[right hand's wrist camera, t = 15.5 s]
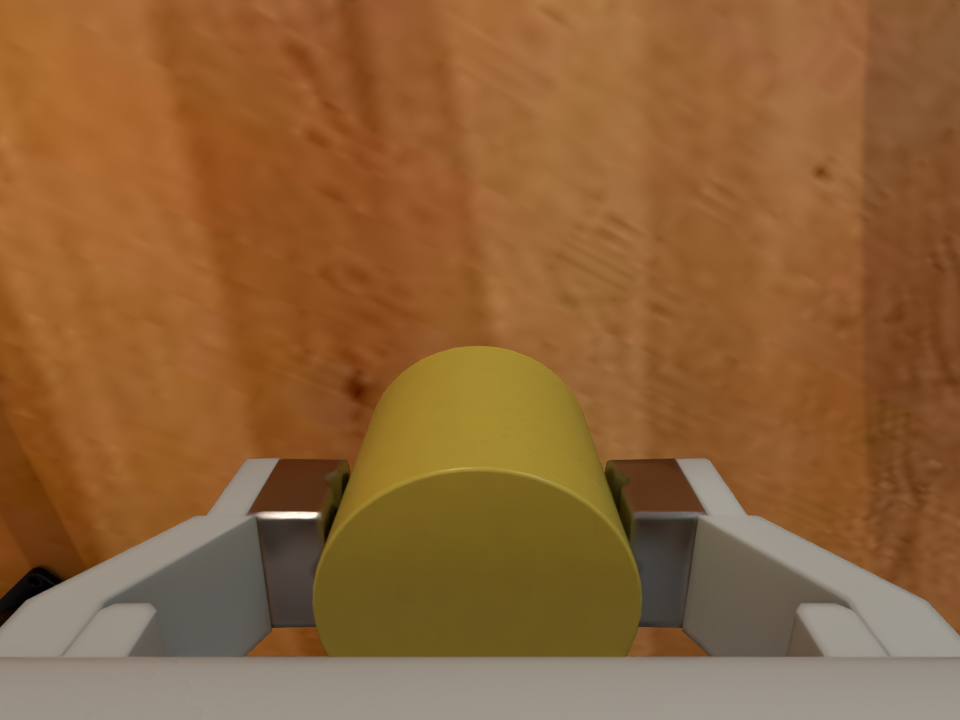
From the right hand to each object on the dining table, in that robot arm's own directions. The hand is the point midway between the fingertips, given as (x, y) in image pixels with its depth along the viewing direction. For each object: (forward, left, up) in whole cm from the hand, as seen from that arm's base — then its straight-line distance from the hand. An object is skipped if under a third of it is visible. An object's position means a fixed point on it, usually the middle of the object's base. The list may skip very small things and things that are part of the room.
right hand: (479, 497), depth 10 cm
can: (0, 0, -2) cm, 2 cm away
